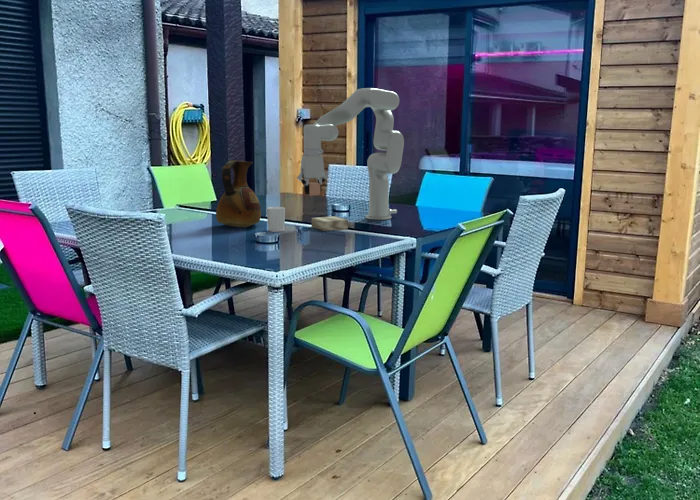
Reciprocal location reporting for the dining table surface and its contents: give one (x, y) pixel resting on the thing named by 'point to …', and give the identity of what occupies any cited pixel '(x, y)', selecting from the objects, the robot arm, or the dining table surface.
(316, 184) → the cube
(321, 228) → the plinth
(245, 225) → the ceramic pitcher
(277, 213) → the white cup
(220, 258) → the dining table surface
